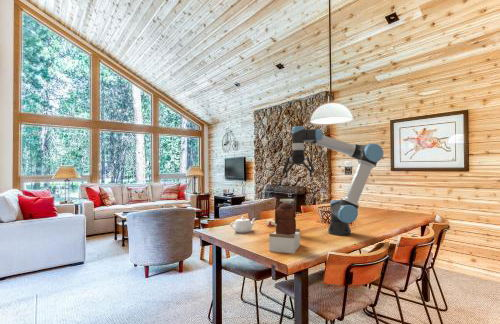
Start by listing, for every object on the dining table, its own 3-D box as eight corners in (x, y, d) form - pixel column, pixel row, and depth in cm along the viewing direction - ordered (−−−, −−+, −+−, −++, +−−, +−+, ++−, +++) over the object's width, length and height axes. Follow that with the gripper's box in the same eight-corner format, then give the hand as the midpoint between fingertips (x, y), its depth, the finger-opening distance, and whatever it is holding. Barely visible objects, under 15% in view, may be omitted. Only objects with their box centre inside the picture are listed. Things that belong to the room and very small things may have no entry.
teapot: (235, 235, 192) (235, 219, 192) (225, 231, 204) (225, 216, 204) (261, 230, 204) (261, 216, 205) (250, 227, 216) (250, 213, 216)
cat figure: (291, 231, 207) (272, 223, 229) (291, 220, 207) (272, 212, 228) (280, 233, 202) (261, 224, 224) (280, 221, 202) (262, 213, 223)
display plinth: (300, 244, 168) (299, 228, 168) (294, 253, 151) (294, 235, 151) (277, 242, 173) (277, 227, 173) (269, 251, 156) (269, 233, 156)
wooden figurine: (292, 231, 167) (291, 201, 167) (296, 234, 161) (296, 202, 161) (273, 233, 163) (273, 202, 164) (277, 236, 157) (277, 203, 158)
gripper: (318, 149, 183) (319, 181, 182) (280, 150, 191) (281, 181, 191) (317, 148, 176) (317, 182, 175) (278, 150, 184) (278, 182, 184)
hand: (298, 182), depth 183 cm, fingers open, 13 cm apart
